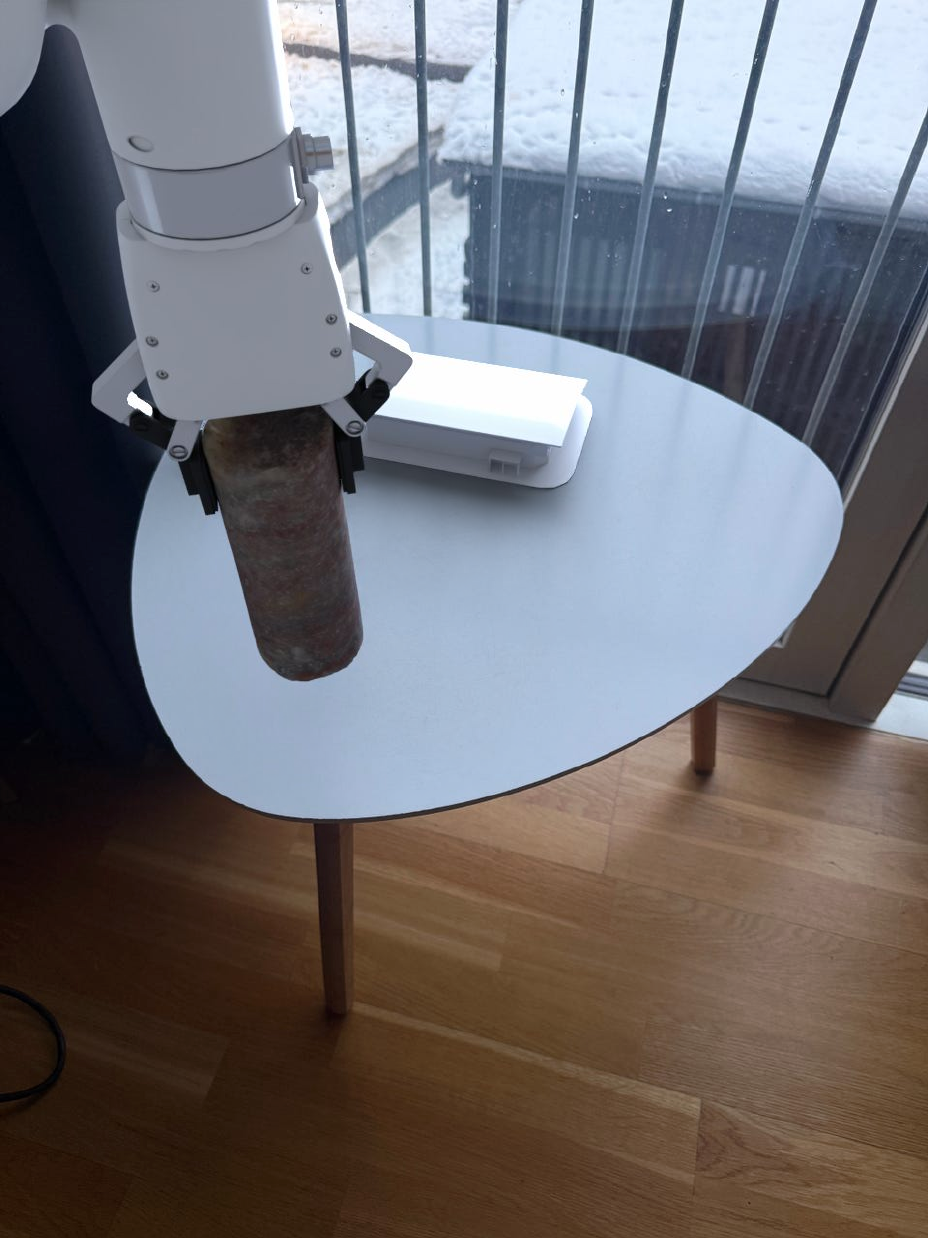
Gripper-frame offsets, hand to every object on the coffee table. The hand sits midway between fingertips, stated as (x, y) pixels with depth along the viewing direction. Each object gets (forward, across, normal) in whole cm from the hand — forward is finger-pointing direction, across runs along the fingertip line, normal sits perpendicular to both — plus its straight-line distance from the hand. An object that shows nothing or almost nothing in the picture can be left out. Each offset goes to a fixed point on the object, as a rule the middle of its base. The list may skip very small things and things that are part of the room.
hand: (279, 486), depth 52 cm
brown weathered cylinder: (+15, 0, 0) cm, 15 cm away
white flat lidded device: (+22, -18, -31) cm, 42 cm away
